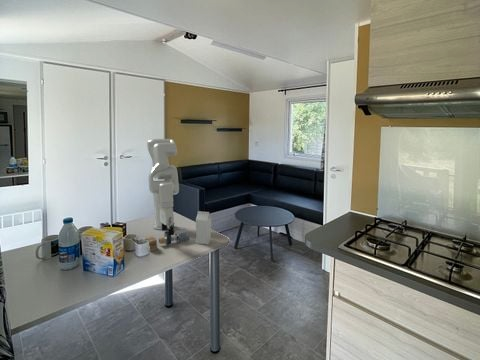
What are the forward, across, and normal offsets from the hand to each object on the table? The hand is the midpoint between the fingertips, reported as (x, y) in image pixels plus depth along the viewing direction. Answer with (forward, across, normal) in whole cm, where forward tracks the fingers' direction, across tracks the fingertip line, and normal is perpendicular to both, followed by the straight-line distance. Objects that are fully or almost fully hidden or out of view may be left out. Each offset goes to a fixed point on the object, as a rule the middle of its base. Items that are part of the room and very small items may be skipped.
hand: (167, 232), depth 161 cm
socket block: (+8, -1, -10) cm, 12 cm away
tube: (+7, -1, +4) cm, 8 cm away
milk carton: (+8, +8, +19) cm, 22 cm away
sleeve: (+7, -1, +9) cm, 12 cm away
